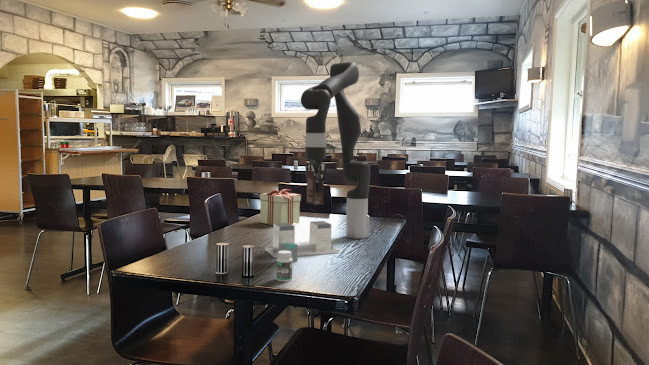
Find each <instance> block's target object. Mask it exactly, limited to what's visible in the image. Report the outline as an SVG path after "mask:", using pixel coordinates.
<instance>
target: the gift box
mask: <svg viewBox="0 0 649 365" xmlns="http://www.w3.org/2000/svg"><path fill="white" fill-rule="evenodd" d="M290 191H291V192H290ZM259 200H260V210H259V211H260V213H259V215H260V218H259V222H260V223H261V224H267V225H271V226H273V224H274V223H289V224H292V225H294V224H293V223H297V224H299V223H300V210H301V209H300V206H301V205H300V204H301V200H302V194H300V193H299V194H298V193H293V192H292V189H288V188H282V189H281V190H272V191H269V192H266V193H265V192H264V193H260V194H259ZM298 222H299V223H298Z"/></svg>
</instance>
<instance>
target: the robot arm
mask: <svg viewBox="0 0 649 365" xmlns="http://www.w3.org/2000/svg"><path fill="white" fill-rule="evenodd" d="M329 68H330V69H329V77H328V78H326V79H324V80H322V81H321V82H320V83H319V84H318V85H314V86H312V87H310V88H309V87H308V88H306V89H305V90H304V91H303V92H302V93H301V97H300V104H301V106H302V107H303V108H304V109H305V110H308V111H309V110H310V111H313V110H314V111H315V110H316V111H317V112H316V114H314V115H311V116H309V117H307V118H306V120H305V140H304V147H305V148H304V158H305V159H306V160H308V162H306V163H304V164H305V180H307V170H312V171H318V174H316V173H314V176H315V177H316V193H322V183H323V181H324V182H326V176H327V175H326V174H327V165H326V164H323V160H326V159H327V138H326V122H327V117H328V113H329V110H330V105H331V100H332V99H333V98H334V102H335V107H336V114H337V115H336V116H337V123H338V131H339V137H340V143H341V154H342V155H341V156H342V172H343V176H344V180H346V181H347V182H350V183H356V186H355V188H353V189H350V190H348V191H347V192H346V217H345V220H346V221H345V223H346V224H345V236H346V238H347V239H348V238H349V239H355V240H356V239H359V240H360V239H367V238H369V237H370V215H368V212H369V210H368V208H369V206H368V205H369V192H370V184H371V183H370V182H371V166H370V164H369V162H368V161H359V160H358V161H357V160H355V155H354V151H355V147H356V144H357V143H358V141H359V138H360V136H361V132H362V127H361V126H362V125H361V119H360V115H359V113H358V112H357V110H356V108H355V107H354V106H353V105H352V103H351V102H350V100H349V99H348V97H347V96H346V93H345V91H344V90H345V89H346V88H348V87H350V86H353V85H355V84H357V83H358V80H359V78H360V70H359V67H358V65H357V64H356V63H355V62H354V61H353V62H352V61H347V62H346V61H345V62H338V63H333V64H331V65H330V67H329ZM317 176H318V177H317Z"/></svg>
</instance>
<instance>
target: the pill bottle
mask: <svg viewBox="0 0 649 365" xmlns="http://www.w3.org/2000/svg"><path fill="white" fill-rule="evenodd" d="M293 263H294V262H293V260H292V258H291V251H286V250H283V251H278V258H276V269H275V270H276V274H275V276H276V278H275V279H276V280H277V281H278V282H283V283H284V282H291V281H292V279H293Z"/></svg>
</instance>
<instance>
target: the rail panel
mask: <svg viewBox="0 0 649 365" xmlns="http://www.w3.org/2000/svg"><path fill="white" fill-rule="evenodd" d="M272 226H273V230H272V231H273V232H272V233H273V235H272V236H273V237H272V238H273V240H272V242H273V244H272V246H270V247H266V248H265V252H266V253H268V254H269V255H270V256H272V257H273V258H275V259H277V258H278V251H279V244H281V243H288V242H290V243H295V242H296V240H295V238H296V237H295V236H296V232H295V231H296V226H295V225H294V224H292V225H291V224H289V223H274V224H273V225H272ZM295 244H296V243H295ZM339 253H340V249H337V248H336V247H334V244H332V223H329V222H327V221H324V220H317V221H314V220H313V221H310V222H309V244H299V245H298V244H297V257H303V256H304V257H305V256H317V255H328V254H329V255H330V254H339Z"/></svg>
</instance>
